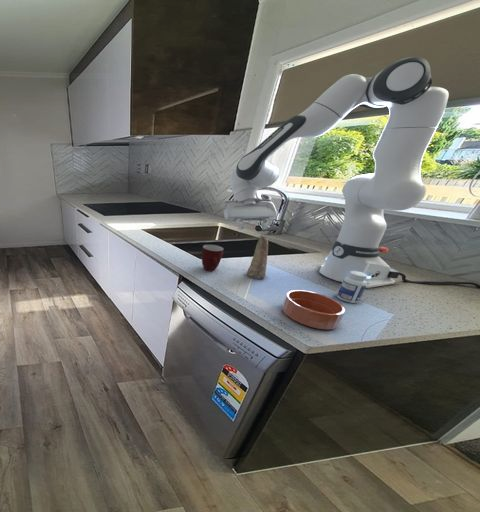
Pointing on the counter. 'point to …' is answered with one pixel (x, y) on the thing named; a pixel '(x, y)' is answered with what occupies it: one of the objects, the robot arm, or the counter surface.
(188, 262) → the counter surface
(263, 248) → the brown tapered cone
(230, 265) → the counter surface
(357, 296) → the pill bottle
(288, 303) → the bowl
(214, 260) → the mug
